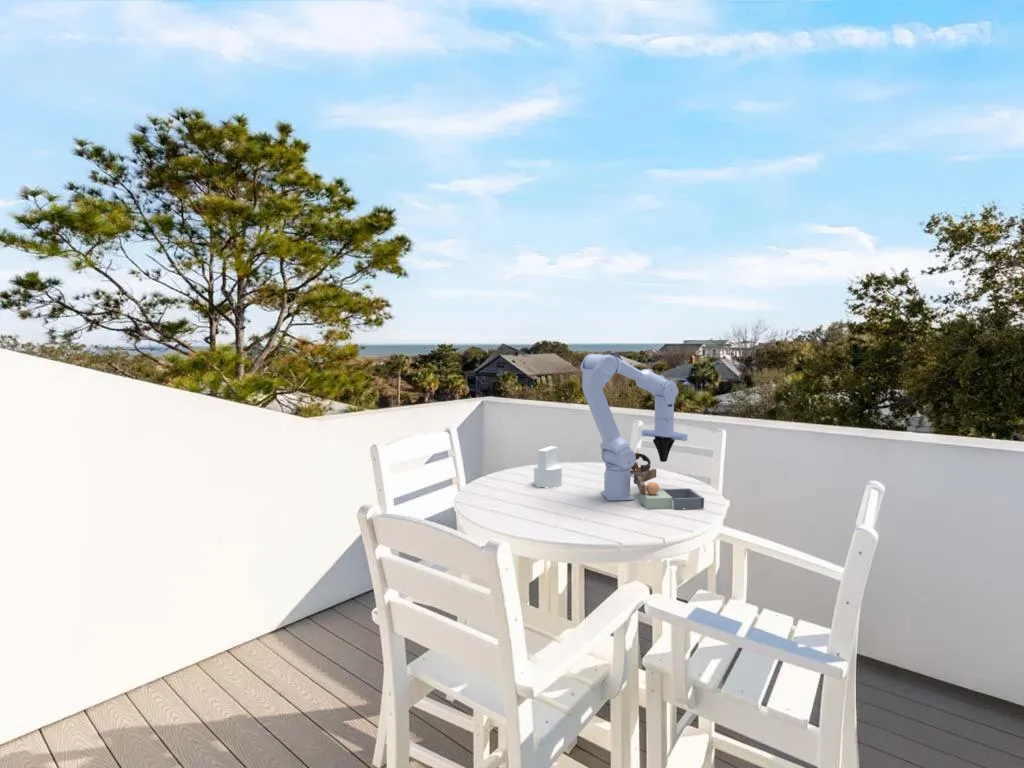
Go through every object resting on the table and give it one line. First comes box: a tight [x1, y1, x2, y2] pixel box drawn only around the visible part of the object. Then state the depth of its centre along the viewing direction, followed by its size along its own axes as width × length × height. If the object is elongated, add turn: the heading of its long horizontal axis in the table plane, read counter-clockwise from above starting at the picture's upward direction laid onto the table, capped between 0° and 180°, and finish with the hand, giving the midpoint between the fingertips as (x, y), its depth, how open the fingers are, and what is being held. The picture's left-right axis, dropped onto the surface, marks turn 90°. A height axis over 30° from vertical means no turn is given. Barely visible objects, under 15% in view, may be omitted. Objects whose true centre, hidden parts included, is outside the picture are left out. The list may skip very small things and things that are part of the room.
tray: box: [661, 487, 705, 510], centre depth 172 cm, size 11×8×3 cm
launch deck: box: [638, 489, 673, 510], centre depth 171 cm, size 8×7×3 cm
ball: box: [646, 481, 660, 495], centre depth 171 cm, size 4×4×4 cm
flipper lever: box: [633, 468, 657, 495], centre depth 180 cm, size 23×6×3 cm, turn 159°
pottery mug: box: [630, 452, 651, 473], centre depth 209 cm, size 12×10×8 cm
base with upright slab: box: [533, 445, 563, 489], centre depth 194 cm, size 9×9×12 cm
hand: (663, 461), depth 186 cm, fingers closed
